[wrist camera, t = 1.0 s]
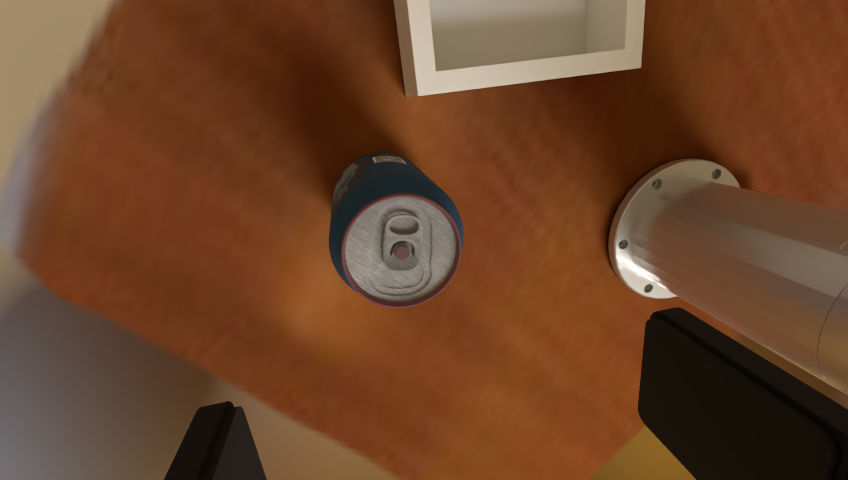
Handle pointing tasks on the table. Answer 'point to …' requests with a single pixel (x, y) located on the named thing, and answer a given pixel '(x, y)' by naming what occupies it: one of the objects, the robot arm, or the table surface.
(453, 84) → the walled box
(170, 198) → the table surface
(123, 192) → the table surface
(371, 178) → the soda can
